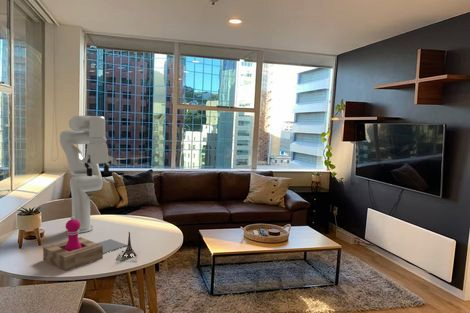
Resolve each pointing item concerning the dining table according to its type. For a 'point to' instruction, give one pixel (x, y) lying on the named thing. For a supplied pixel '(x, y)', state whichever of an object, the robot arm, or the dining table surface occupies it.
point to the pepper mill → (73, 235)
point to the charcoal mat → (111, 245)
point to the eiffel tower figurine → (128, 251)
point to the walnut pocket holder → (72, 254)
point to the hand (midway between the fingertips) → (98, 175)
